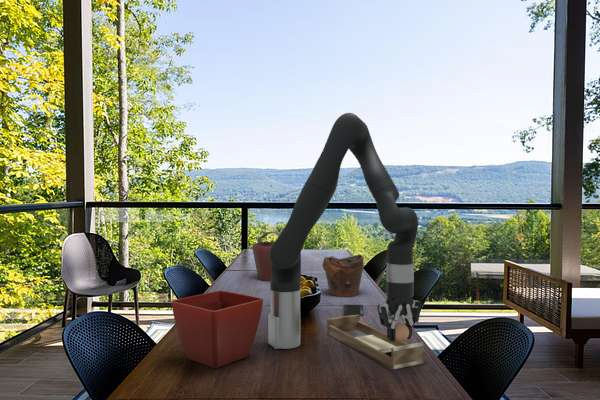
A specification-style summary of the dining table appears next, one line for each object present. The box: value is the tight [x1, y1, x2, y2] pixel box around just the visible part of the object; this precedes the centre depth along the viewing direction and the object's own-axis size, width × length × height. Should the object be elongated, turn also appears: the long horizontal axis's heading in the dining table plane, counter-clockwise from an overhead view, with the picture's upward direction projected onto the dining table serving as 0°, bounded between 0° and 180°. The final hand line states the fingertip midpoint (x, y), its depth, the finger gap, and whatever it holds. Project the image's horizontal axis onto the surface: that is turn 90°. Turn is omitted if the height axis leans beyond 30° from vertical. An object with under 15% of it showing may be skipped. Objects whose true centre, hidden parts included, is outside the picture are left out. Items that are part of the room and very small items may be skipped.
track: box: [326, 315, 427, 371], centre depth 146 cm, size 12×35×6 cm, turn 25°
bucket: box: [252, 230, 282, 283], centre depth 255 cm, size 24×22×25 cm
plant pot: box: [171, 290, 264, 369], centre depth 137 cm, size 19×19×17 cm
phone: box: [342, 303, 364, 318], centre depth 189 cm, size 8×1×15 cm
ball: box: [394, 322, 409, 342], centre depth 134 cm, size 5×5×5 cm
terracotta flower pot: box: [322, 254, 365, 298], centre depth 219 cm, size 18×20×18 cm
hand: (399, 339), depth 134 cm, fingers closed on ball, 5 cm apart
